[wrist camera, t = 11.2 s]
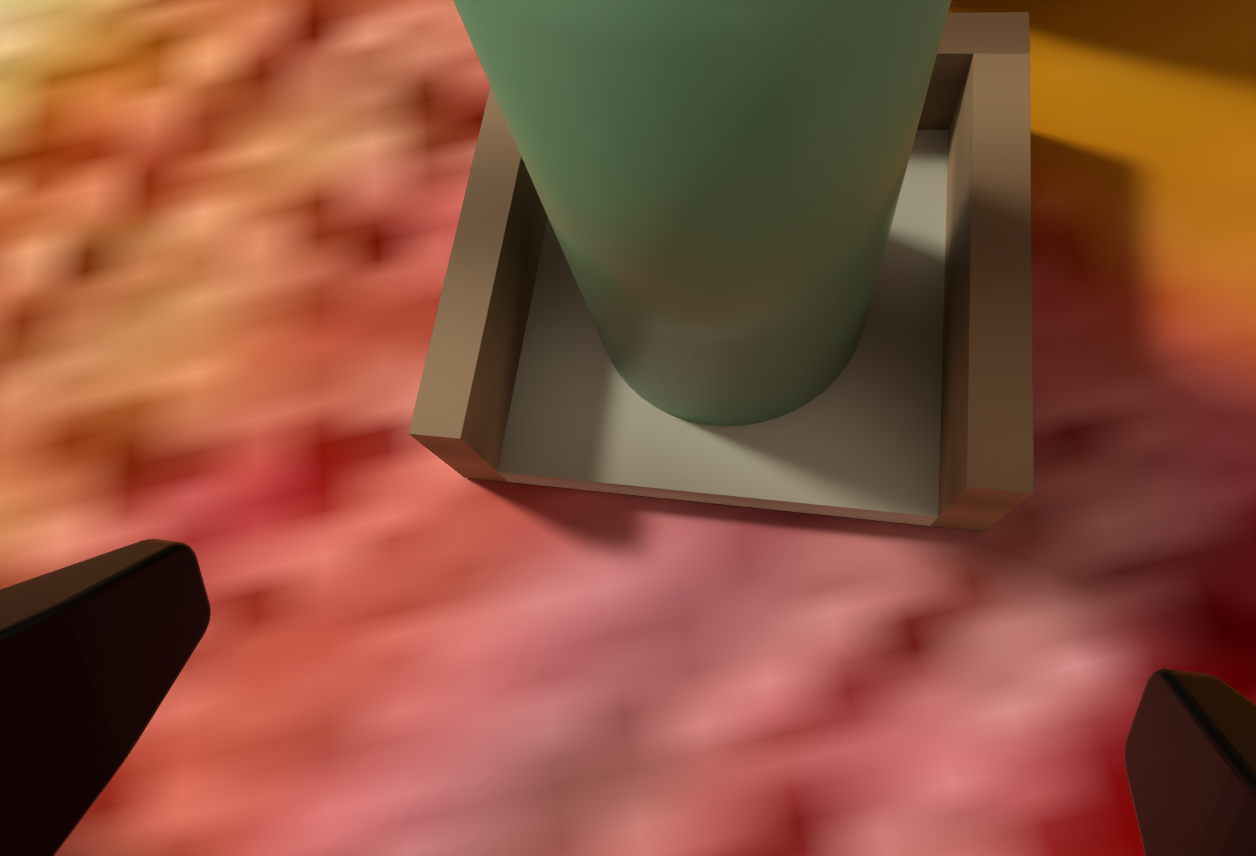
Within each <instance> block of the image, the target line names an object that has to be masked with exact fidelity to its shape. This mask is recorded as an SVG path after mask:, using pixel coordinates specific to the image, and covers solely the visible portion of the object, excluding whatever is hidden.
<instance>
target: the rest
mask: <svg viewBox="0 0 1256 856" xmlns="http://www.w3.org/2000/svg"><path fill="white" fill-rule="evenodd" d="M409 435H411V436H412V437H413V438H415V439H416V440H417V441H418V442H420V443H421V444H422V445H424V446H425V447H426V448H427V449H429V450H430V451H431V452H433V453H434V454H435V455H436V456H438V457H439V458H440V459H442V460H443V461H444V462H445V463H447V464H448V465H449V466H450V467H452V468H453V469H454V470H456V471H457V472H458V473H459V474H461V475H462V476H463V477H465V478H474V479H484V480H494V481H503V482H513V483H522V484H532V485H542V486H551V487H561V488H570V489H580V490H590V491H599V492H609V493H618V494H628V495H637V496H647V497H657V498H666V499H676V500H685V501H695V502H705V503H714V504H724V505H733V506H743V507H753V508H762V509H772V510H781V511H791V512H801V513H810V514H820V515H829V516H839V517H849V518H858V519H868V520H877V521H887V522H897V523H906V524H916V525H925V526H935V527H944V528H954V529H964V530H973V531H983V532H985V531H986V530H987V529H988V528H990V527H991V526H992V525H994V524H995V523H996V522H997V521H999V520H1000V519H1001V518H1003V517H1004V516H1005V515H1006V514H1008V513H1009V512H1010V511H1012V510H1013V509H1014V508H1015V507H1017V506H1018V505H1019V504H1021V503H1022V502H1023V501H1025V500H1026V499H1027V498H1028V497H1030V496H1031V495H1032V494H1034V436H1033V339H1032V243H1031V147H1030V51H1029V12H969V13H948V15H947V19H946V23H945V27H944V30H943V34H942V38H941V41H940V45H939V49H938V53H937V56H936V60H935V64H934V68H933V71H932V75H931V79H930V83H929V86H928V90H927V94H926V98H925V101H924V105H923V109H922V113H921V116H920V120H919V124H918V128H917V131H916V135H915V139H914V142H913V146H912V150H911V154H910V157H909V161H908V165H907V169H906V172H905V176H904V180H903V184H902V187H901V191H900V195H899V199H898V202H897V206H896V210H895V214H894V217H893V221H892V225H891V228H890V232H889V236H888V240H887V243H886V247H885V251H884V255H883V258H882V262H881V266H880V270H879V273H878V277H877V281H876V285H875V288H874V292H873V296H872V300H871V303H870V307H869V311H868V314H867V318H866V322H865V326H864V329H863V333H862V336H861V338H860V341H859V344H858V346H857V349H856V351H855V352H854V354H853V356H852V358H851V360H850V361H849V363H848V365H847V366H846V367H845V369H844V370H843V371H842V373H841V374H840V375H839V377H838V378H837V379H836V380H835V381H834V382H833V383H832V384H831V385H830V386H829V387H828V388H827V389H826V390H825V391H823V392H822V393H821V394H819V395H818V396H817V397H816V398H814V399H813V400H812V401H810V402H808V403H807V404H805V405H803V406H802V407H800V408H798V409H797V410H795V411H792V412H790V413H788V414H785V415H783V416H781V417H778V418H775V419H771V420H768V421H764V422H761V423H755V424H749V425H742V426H715V425H705V424H700V423H695V422H691V421H687V420H684V419H681V418H678V417H675V416H673V415H670V414H668V413H666V412H664V411H662V410H660V409H658V408H656V407H654V406H653V405H652V404H650V403H649V402H647V401H646V400H644V399H643V398H641V397H640V396H639V395H638V394H637V393H636V392H635V391H634V390H633V389H632V388H630V387H629V386H628V384H627V383H626V382H625V381H624V380H623V378H622V377H621V376H620V375H619V373H618V372H617V370H616V369H615V367H614V365H613V364H612V362H611V360H610V358H609V356H608V354H607V351H606V349H605V347H604V344H603V342H602V340H601V338H600V335H599V333H598V331H597V328H596V326H595V324H594V322H593V319H592V317H591V315H590V312H589V310H588V308H587V305H586V303H585V301H584V299H583V296H582V294H581V292H580V289H579V287H578V285H577V283H576V280H575V278H574V276H573V273H572V271H571V269H570V266H569V264H568V262H567V260H566V257H565V255H564V253H563V250H562V248H561V246H560V244H559V241H558V239H557V237H556V234H555V232H554V230H553V228H552V225H551V223H550V221H549V218H548V216H547V214H546V211H545V209H544V207H543V205H542V202H541V200H540V198H539V195H538V193H537V191H536V189H535V186H534V184H533V182H532V179H531V177H530V175H529V172H528V170H527V168H526V166H525V163H524V161H523V159H522V156H521V154H520V152H519V150H518V147H517V145H516V143H515V140H514V138H513V136H512V133H511V131H510V129H509V127H508V124H507V122H506V120H505V117H504V115H503V113H502V111H501V108H500V106H499V104H498V101H497V99H496V97H495V95H494V92H493V90H492V88H491V87H490V91H489V95H488V99H487V103H486V108H485V112H484V116H483V120H482V125H481V129H480V133H479V137H478V142H477V146H476V150H475V154H474V159H473V163H472V167H471V171H470V176H469V180H468V184H467V188H466V192H465V197H464V201H463V205H462V209H461V214H460V218H459V222H458V226H457V231H456V235H455V239H454V243H453V248H452V252H451V256H450V260H449V265H448V269H447V273H446V277H445V281H444V286H443V290H442V294H441V298H440V303H439V307H438V311H437V315H436V320H435V324H434V328H433V332H432V337H431V341H430V345H429V349H428V354H427V358H426V362H425V366H424V370H423V375H422V379H421V383H420V387H419V392H418V396H417V400H416V404H415V409H414V413H413V417H412V421H411V426H410V430H409Z"/></svg>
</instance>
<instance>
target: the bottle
mask: <svg viewBox="0 0 1256 856" xmlns="http://www.w3.org/2000/svg"><path fill="white" fill-rule="evenodd" d="M453 1H454V3H455V5H456V7H457V10H458V12H459V14H460V17H461V19H462V21H463V23H464V26H465V28H466V30H467V33H468V35H469V37H470V39H471V42H472V44H473V46H474V49H475V51H476V53H477V56H478V58H479V60H480V62H481V65H482V67H483V69H484V72H485V74H486V76H487V78H488V81H489V83H490V85H491V88H492V90H493V92H494V95H495V97H496V99H497V101H498V104H499V106H500V108H501V111H502V113H503V115H504V117H505V120H506V122H507V124H508V127H509V129H510V131H511V133H512V136H513V138H514V140H515V143H516V145H517V147H518V150H519V152H520V154H521V156H522V159H523V161H524V163H525V166H526V168H527V170H528V172H529V175H530V177H531V179H532V182H533V184H534V186H535V189H536V191H537V193H538V195H539V198H540V200H541V202H542V205H543V207H544V209H545V211H546V214H547V216H548V218H549V221H550V223H551V225H552V228H553V230H554V232H555V234H556V237H557V239H558V241H559V244H560V246H561V248H562V250H563V253H564V255H565V257H566V260H567V262H568V264H569V266H570V269H571V271H572V273H573V276H574V278H575V280H576V283H577V285H578V287H579V289H580V292H581V294H582V296H583V299H584V301H585V303H586V305H587V308H588V310H589V312H590V315H591V317H592V319H593V322H594V324H595V326H596V328H597V331H598V333H599V335H600V338H601V340H602V342H603V344H604V347H605V349H606V351H607V354H608V356H609V358H610V360H611V362H612V364H613V365H614V367H615V369H616V370H617V372H618V373H619V375H620V376H621V377H622V378H623V380H624V381H625V382H626V383H627V384H628V386H629V387H630V388H632V389H633V390H634V391H635V392H636V393H637V394H638V395H639V396H640V397H641V398H643V399H644V400H646V401H647V402H649V403H650V404H652V405H653V406H654V407H656V408H658V409H660V410H662V411H664V412H666V413H668V414H670V415H673V416H675V417H678V418H681V419H684V420H687V421H691V422H695V423H700V424H705V425H715V426H742V425H749V424H755V423H761V422H764V421H768V420H771V419H775V418H778V417H781V416H783V415H785V414H788V413H790V412H792V411H795V410H797V409H798V408H800V407H802V406H803V405H805V404H807V403H808V402H810V401H812V400H813V399H814V398H816V397H817V396H818V395H819V394H821V393H822V392H823V391H825V390H826V389H827V388H828V387H829V386H830V385H831V384H832V383H833V382H834V381H835V380H836V379H837V378H838V377H839V375H840V374H841V373H842V371H843V370H844V369H845V367H846V366H847V365H848V363H849V361H850V360H851V358H852V356H853V354H854V352H855V351H856V349H857V346H858V344H859V341H860V338H861V336H862V333H863V329H864V326H865V322H866V318H867V314H868V311H869V307H870V303H871V300H872V296H873V292H874V288H875V285H876V281H877V277H878V273H879V270H880V266H881V262H882V258H883V255H884V251H885V247H886V243H887V240H888V236H889V232H890V228H891V225H892V221H893V217H894V214H895V210H896V206H897V202H898V199H899V195H900V191H901V187H902V184H903V180H904V176H905V172H906V169H907V165H908V161H909V157H910V154H911V150H912V146H913V142H914V139H915V135H916V131H917V128H918V124H919V120H920V116H921V113H922V109H923V105H924V101H925V98H926V94H927V90H928V86H929V83H930V79H931V75H932V71H933V68H934V64H935V60H936V56H937V53H938V49H939V45H940V41H941V38H942V34H943V30H944V27H945V23H946V19H947V15H948V12H949V8H950V4H951V0H453Z"/></svg>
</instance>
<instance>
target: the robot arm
mask: <svg viewBox="0 0 1256 856" xmlns="http://www.w3.org/2000/svg"><path fill="white" fill-rule="evenodd" d="M210 616H211V608H210V603H209V599H208V596H207V592H206V589H205V585H204V582H203V578H202V575H201V571H200V567H199V564H198V560H197V557H196V554H195V552H194V551H193V550H192V549H191V547H190V546H189V545H186V544H185V543H182V542H174V541H167V540H159V539H148V540H143V541H140V542H137V543H134V544H131V545H128V546H125V547H123V548H120V549H117V550H114V551H111V552H108V553H105V554H102V555H99V556H96V557H94V558H91V559H88V560H85V561H82V562H79V563H76V564H73V565H70V566H67V567H65V568H62V569H59V570H56V571H53V572H50V573H47V574H44V575H41V576H38V577H35V578H33V579H30V580H27V581H24V582H21V583H18V584H15V585H12V586H9V587H6V588H4V589H1V590H0V856H54V855H55V854H56V853H57V851H58V850H59V849H60V847H61V846H62V845H63V843H64V842H65V841H66V839H67V838H68V837H69V835H70V834H71V833H72V831H73V830H74V829H75V827H76V826H77V825H78V823H79V822H80V821H81V819H82V818H83V817H84V815H85V814H86V813H87V811H88V810H89V809H90V807H91V806H92V805H93V803H94V802H95V801H96V799H97V798H98V797H99V795H100V794H101V793H102V791H103V790H104V789H105V787H106V786H107V785H108V783H109V782H110V781H111V779H112V778H113V776H114V775H115V774H116V772H117V771H118V769H119V768H120V767H121V765H122V764H123V762H124V761H125V759H126V758H127V756H128V755H129V753H130V752H131V750H132V749H133V747H134V746H135V744H136V743H137V741H138V740H139V738H140V736H141V735H142V733H143V732H144V730H145V728H146V727H147V725H148V723H149V722H150V720H151V719H152V717H153V715H154V714H155V712H156V711H157V709H158V707H159V706H160V704H161V703H162V701H163V699H164V698H165V696H166V695H167V693H168V691H169V690H170V688H171V687H172V685H173V683H174V682H175V680H176V679H177V677H178V675H179V674H180V672H181V671H182V669H183V667H184V666H185V664H186V663H187V661H188V659H189V658H190V656H191V655H192V653H193V651H194V650H195V648H196V647H197V645H198V643H199V642H200V640H201V639H202V637H203V635H204V634H205V632H206V630H207V627H208V624H209V621H210ZM1125 767H1126V773H1127V777H1128V782H1129V786H1130V790H1131V795H1132V799H1133V804H1134V808H1135V812H1136V817H1137V821H1138V825H1139V830H1140V834H1141V839H1142V843H1143V847H1144V852H1145V856H1256V705H1255V704H1254V703H1252V702H1251V701H1250V700H1248V699H1247V698H1245V697H1244V696H1243V695H1241V694H1240V693H1239V692H1237V691H1236V690H1234V689H1233V688H1232V687H1230V686H1229V685H1227V684H1226V683H1225V682H1223V681H1222V680H1220V679H1219V678H1217V677H1215V676H1212V675H1209V674H1204V673H1196V672H1189V671H1181V670H1173V669H1160V670H1157V671H1155V672H1154V673H1153V674H1152V675H1151V676H1150V678H1149V680H1148V682H1147V684H1146V686H1145V689H1144V692H1143V695H1142V698H1141V700H1140V703H1139V706H1138V709H1137V712H1136V714H1135V717H1134V720H1133V723H1132V726H1131V728H1130V731H1129V734H1128V737H1127V740H1126V746H1125Z"/></svg>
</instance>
